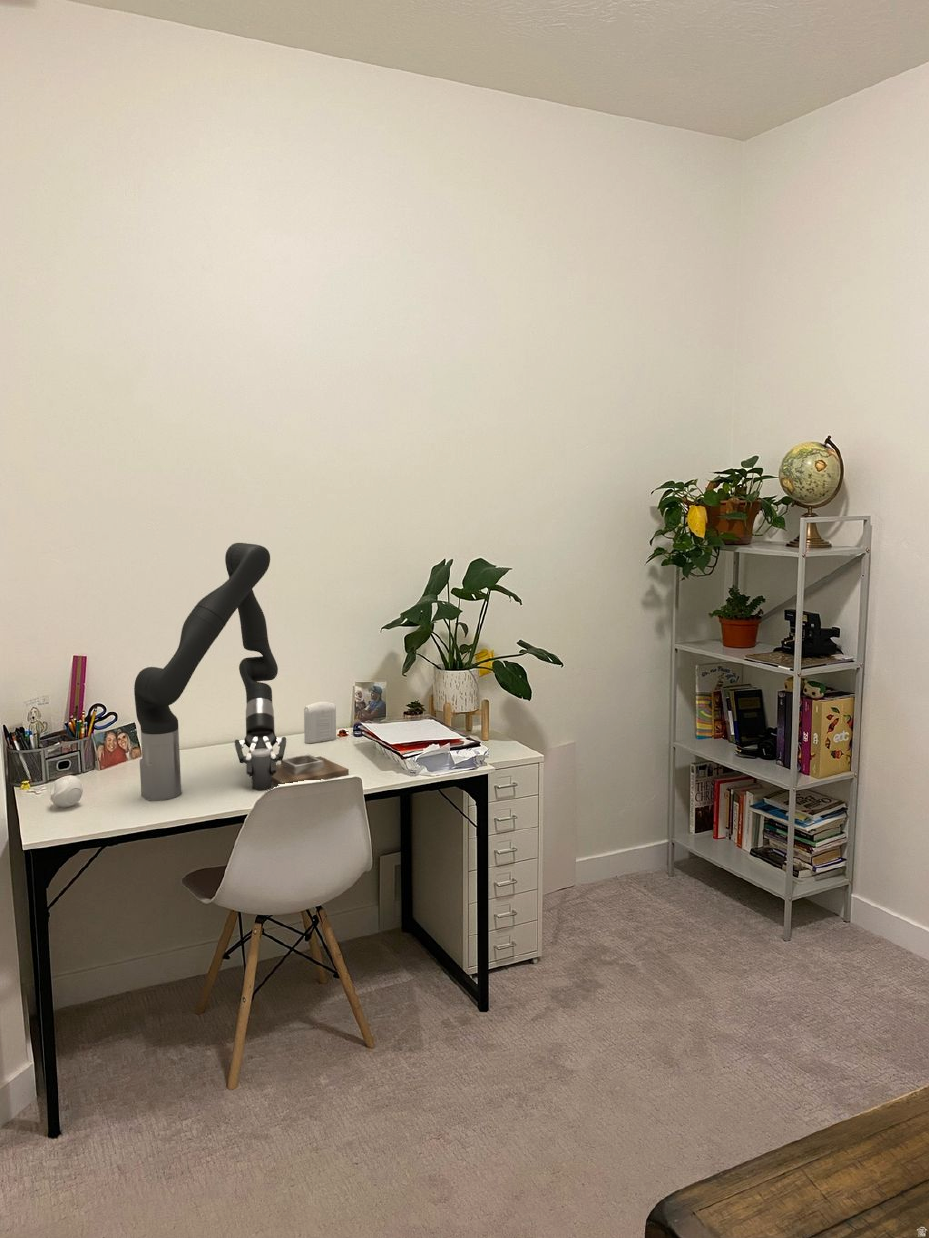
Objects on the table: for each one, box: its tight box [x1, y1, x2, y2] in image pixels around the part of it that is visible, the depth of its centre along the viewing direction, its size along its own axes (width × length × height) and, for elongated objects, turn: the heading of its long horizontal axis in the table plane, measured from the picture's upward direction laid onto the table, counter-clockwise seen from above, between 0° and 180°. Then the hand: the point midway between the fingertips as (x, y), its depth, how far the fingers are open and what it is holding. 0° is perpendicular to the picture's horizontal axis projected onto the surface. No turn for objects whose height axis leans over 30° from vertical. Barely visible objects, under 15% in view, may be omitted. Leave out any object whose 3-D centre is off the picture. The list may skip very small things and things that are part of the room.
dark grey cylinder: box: [251, 748, 273, 792], centre depth 252 cm, size 5×5×10 cm
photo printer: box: [303, 701, 337, 744], centre depth 298 cm, size 10×4×12 cm, turn 123°
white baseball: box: [49, 775, 84, 808], centre depth 238 cm, size 8×8×8 cm
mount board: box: [271, 753, 350, 786], centre depth 264 cm, size 20×16×4 cm
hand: (261, 774), depth 250 cm, fingers closed on dark grey cylinder, 5 cm apart
